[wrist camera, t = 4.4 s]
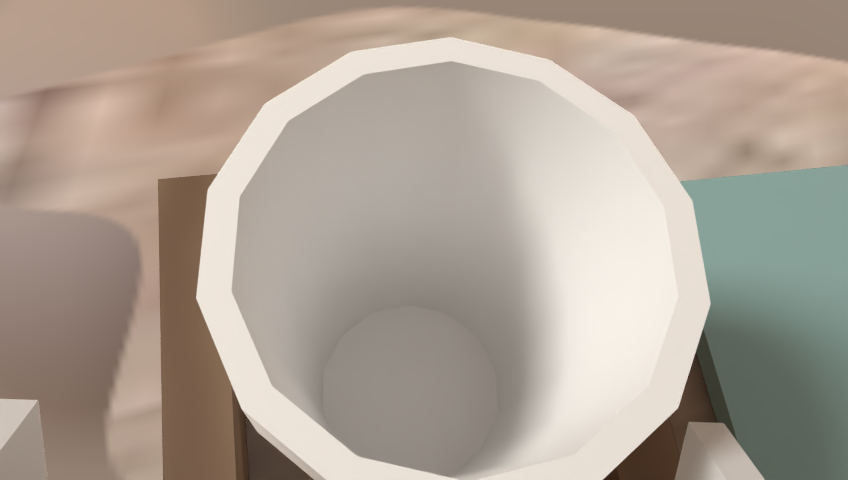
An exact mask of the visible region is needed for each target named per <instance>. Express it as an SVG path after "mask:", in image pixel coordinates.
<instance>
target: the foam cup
mask: <svg viewBox="0 0 848 480" xmlns="http://www.w3.org/2000/svg"><path fill="white" fill-rule="evenodd" d="M196 299H197V302H198V304H199V307H200V309H201V311H202V314H203V316H204V319H205V321H206V324H207V326H208V329H209V331H210V333H211V336H212V338H213V341H214V343H215V346H216V348H217V350H218V353H219V355H220V358H221V360H222V363H223V365H224V367H225V370H226V372H227V375H228V377H229V380H230V382H231V385H232V387H233V389H234V392H235V394H236V397H237V399H238V402H239V404H240V406H241V409H242V410H243V412H244V413H245V415H246V416H247V418H248V419H249V420H250V422H251V423H252V425H253V426H254V428H255V429H256V431H257V432H258V433H259V434H260V435H262V436H263V437H264V438H265V439H266V440H268V441H269V442H270V443H271V444H272V445H273V446H275V447H276V448H277V449H278V450H279V451H281V452H282V453H283V454H284V455H285V456H287V457H288V458H289V459H290V460H291V461H292V462H294V463H295V464H296V465H297V466H298V467H300V468H301V469H302V470H303V471H304V472H306V473H307V474H308V475H309V476H310V477H312V478H313V479H314V480H603V479H604V478H605V477H606V476H607V475H608V474H609V473H610V472H611V471H613V470H614V469H615V468H616V467H617V466H618V465H619V464H620V463H621V462H622V461H623V460H624V459H625V458H626V457H627V456H628V455H629V454H630V453H631V452H633V451H634V450H635V449H636V448H637V447H638V446H639V445H640V444H641V443H642V442H643V441H644V440H645V439H646V438H647V437H648V436H649V435H650V434H651V433H652V432H654V431H655V430H656V429H657V428H658V427H659V426H660V425H661V424H662V423H663V422H664V421H665V420H666V419H667V418H668V417H669V416H670V415H671V414H672V413H674V412H675V411H676V410H677V409H678V407H679V404H680V401H681V398H682V394H683V391H684V388H685V385H686V382H687V378H688V375H689V372H690V369H691V366H692V362H693V359H694V356H695V353H696V349H697V346H698V343H699V340H700V337H701V333H702V330H703V327H704V324H705V321H706V317H707V314H708V311H709V308H710V305H711V302H710V297H709V291H708V286H707V280H706V274H705V269H704V263H703V257H702V252H701V246H700V240H699V235H698V229H697V223H696V218H695V212H694V207H693V201H692V199H691V198H690V196H689V195H688V193H687V192H686V191H685V189H684V188H683V186H682V185H681V183H680V182H679V180H678V179H677V177H676V176H675V175H674V173H673V172H672V170H671V169H670V167H669V166H668V164H667V163H666V161H665V160H664V159H663V157H662V156H661V154H660V153H659V151H658V150H657V148H656V147H655V145H654V144H653V142H652V141H651V140H650V138H649V137H648V135H647V134H646V132H645V131H644V129H643V128H642V126H641V125H640V124H639V122H638V121H637V119H636V118H635V116H634V115H632V114H631V113H629V112H628V111H626V110H625V109H623V108H622V107H620V106H619V105H617V104H616V103H614V102H613V101H611V100H610V99H608V98H607V97H605V96H604V95H602V94H601V93H599V92H597V91H596V90H594V89H593V88H591V87H590V86H588V85H587V84H585V83H584V82H582V81H581V80H579V79H578V78H576V77H575V76H573V75H572V74H570V73H569V72H567V71H566V70H564V69H563V68H561V67H560V66H558V65H557V64H555V63H554V62H552V61H551V60H549V59H545V58H540V57H536V56H532V55H527V54H523V53H518V52H514V51H510V50H505V49H501V48H496V47H492V46H488V45H483V44H479V43H474V42H470V41H465V40H461V39H457V38H452V37H448V38H441V39H434V40H428V41H421V42H414V43H407V44H400V45H393V46H386V47H380V48H373V49H366V50H359V51H352V52H350V53H348V54H346V55H345V56H343V57H341V58H340V59H338V60H336V61H335V62H333V63H331V64H330V65H328V66H326V67H325V68H323V69H321V70H320V71H318V72H316V73H315V74H313V75H311V76H310V77H308V78H306V79H305V80H303V81H301V82H300V83H298V84H297V85H295V86H293V87H292V88H290V89H288V90H287V91H285V92H283V93H282V94H280V95H278V96H277V97H275V98H273V99H272V100H270V101H268V102H267V103H265V104H264V106H263V107H262V109H261V110H260V112H259V113H258V115H257V116H256V118H255V119H254V121H253V122H252V124H251V125H250V127H249V128H248V130H247V131H246V133H245V134H244V136H243V137H242V139H241V140H240V142H239V143H238V145H237V146H236V148H235V149H234V151H233V152H232V154H231V155H230V157H229V158H228V160H227V161H226V163H225V164H224V166H223V167H222V169H221V170H220V172H219V173H218V175H217V176H216V178H215V179H214V181H213V182H212V184H211V185H210V187H209V188H208V190H207V200H206V209H205V219H204V228H203V238H202V247H201V256H200V266H199V275H198V285H197V294H196Z"/></svg>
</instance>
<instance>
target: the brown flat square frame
mask: <svg viewBox="0 0 848 480" xmlns="http://www.w3.org/2000/svg"><path fill="white" fill-rule="evenodd" d="M217 175H218V174H212V175H201V176H190V177H179V178H168V179H158V206H159V265H160V325H161V384H162V443H163V480H249V473H248V456H247V439H246V422H245V413H244V412H243V410H242V409H241V406H240V404H239V402H238V399H237V397H236V394H235V392H234V389H233V387H232V385H231V382H230V380H229V377H228V375H227V372H226V370H225V367H224V365H223V363H222V360H221V358H220V355H219V353H218V350H217V348H216V346H215V343H214V341H213V338H212V336H211V333H210V331H209V329H208V326H207V324H206V321H205V319H204V316H203V314H202V311H201V309H200V307H199V304H198V302H197V299H196V294H197V285H198V275H199V266H200V256H201V247H202V238H203V228H204V219H205V209H206V200H207V190H208V188H209V187H210V185H211V184H212V182H213V181H214V179H215V178H216V176H217ZM679 459H680V457H679V453H678V450H677V446H676V442H675V439H674V435H673V431H672V428H671V424H670V420H669V417H668V418H667V419H666V420H665V421H664V422H663V423H662V424H661V425H660V426H659V427H658V428H657V429H656V430H655V431H654V432H652V433H651V434H650V435H649V436H648V437H647V438H646V439H645V440H644V441H643V442H642V443H641V444H640V445H639V446H638V447H637V448H636V449H635V450H634V451H633V452H631V453H630V454H629V455H628V456H627V457H626V458H625V459H624V460H623V461H622V462H621V463H620V464H619V465H618V466H617V467H616V468H615V469H614V470H613V471H611V472H610V473H609V474H608V475H607V476H606V477H605V478H604V479H603V480H675V476H676V472H677V468H678V464H679Z"/></svg>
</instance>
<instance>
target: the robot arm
mask: <svg viewBox="0 0 848 480" xmlns="http://www.w3.org/2000/svg"><path fill="white" fill-rule="evenodd" d="M0 480H48V476H47V469H46V460H45V452H44V444H43V435H42V427H41V419H40V411H39V403H38V400H17V399H16V400H15V399H0ZM675 480H765V479H764V478H763V476H762V475H761V474H760V472H759V471H758V470H757V468H756V467H755V465H754V464H753V463H752V461H751V460H750V459H749V457H748V456H747V454H746V453H745V452H744V450H743V449H742V448H741V446H740V445H739V443H738V442H737V441H736V439H735V438H734V437H733V435H732V434H731V432H730V431H729V430H728V428H727V427H726V426H725V424H724V423H708V422H688V426H687V430H686V434H685V438H684V442H683V447H682V451H681V455H680V459H679V464H678V468H677V472H676V476H675Z"/></svg>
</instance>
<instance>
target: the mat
mask: <svg viewBox="0 0 848 480" xmlns="http://www.w3.org/2000/svg"><path fill="white" fill-rule="evenodd" d="M680 183H681V185H682V186H683V188H684V189H685V191H686V192H687V193H688V195H689V196H690V198H691V199H692V201H693V207H694V212H695V218H696V223H697V229H698V235H699V240H700V246H701V252H702V257H703V263H704V269H705V274H706V280H707V286H708V291H709V297H710V302H711V305H710V308H709V311H708V314H707V317H706V321H705V324H704V327H703V330H702V333H701V337H700V340H699V343H698V346H697V349H696V353H697V356H698V360H699V363H700V366H701V370H702V373H703V376H704V380H705V383H706V387H707V390H708V393H709V397H710V400H711V403H712V407H713V410H714V414H715V417H716V420H717V423H724V424H725V426H726V427H727V428H728V430H729V431H730V432H731V434H732V435H733V437H734V438H735V439H736V441H737V442H738V443H739V445H740V446H741V448H742V449H743V450H744V452H745V453H746V454H747V456H748V457H749V459H750V460H751V461H752V463H753V464H754V465H755V467H756V468H757V470H758V471H759V472H760V474H761V475H762V476H763V478H764V479H765V480H848V165H843V166H833V167H823V168H813V169H802V170H792V171H782V172H772V173H762V174H752V175H742V176H731V177H721V178H711V179H701V180H691V181H681V182H680Z"/></svg>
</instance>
